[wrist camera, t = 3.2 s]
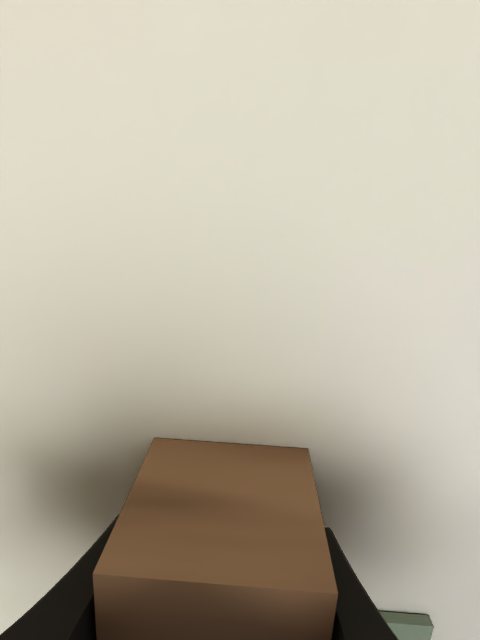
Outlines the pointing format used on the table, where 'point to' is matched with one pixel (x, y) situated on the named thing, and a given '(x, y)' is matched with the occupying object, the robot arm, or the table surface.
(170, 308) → the table surface
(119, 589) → the walnut block
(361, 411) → the table surface
